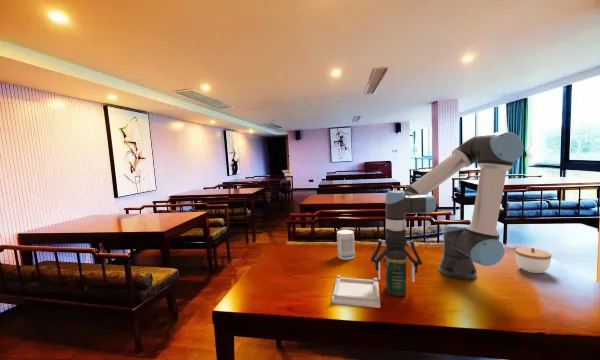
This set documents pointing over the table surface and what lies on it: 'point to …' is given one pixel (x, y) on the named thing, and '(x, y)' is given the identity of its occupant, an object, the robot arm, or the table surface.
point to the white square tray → (356, 292)
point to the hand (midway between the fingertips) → (395, 279)
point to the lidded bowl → (533, 259)
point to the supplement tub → (345, 244)
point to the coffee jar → (396, 272)
